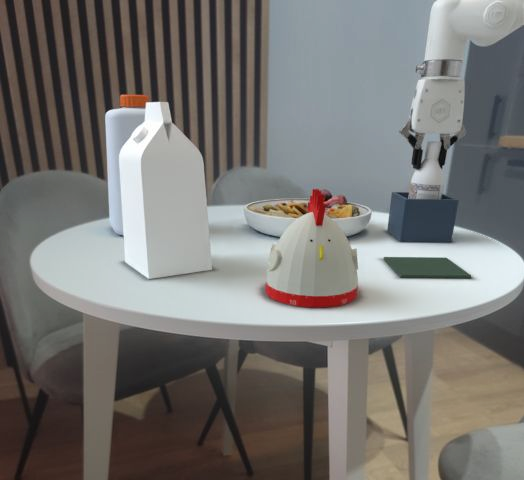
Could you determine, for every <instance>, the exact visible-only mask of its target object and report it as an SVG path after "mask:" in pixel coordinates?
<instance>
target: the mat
mask: <svg viewBox="0 0 524 480" xmlns="http://www.w3.org/2000/svg"><path fill="white" fill-rule="evenodd" d="M383 260H384V262H385V263H386V264H387V265H388V266H389V267H390V268H391V269H392V270H393V272H395V273H396V274H397V276H399V278H402V279H403V278H405V279H415V278H416V279H472V275H471V274H470V273H468V272H467V271H466V270H464V269H463V268H462V267H460V266H459V265H457V264H456V263H454V262H453V261H452V260H450V259H449V258H448V257H438V256H437V257H435V256H434V257H433V256H431V257H430V256H428V257H427V256H425V257H424V256H423V257H422V256H384V257H383Z"/></svg>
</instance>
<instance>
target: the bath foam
mask: <svg viewBox="0 0 524 480" xmlns="http://www.w3.org/2000/svg"><path fill="white" fill-rule="evenodd" d="M440 149H441V142H440V141H431V140H428V141H427V142H426V147H425V152H424V153H425V154H424V159H422V161H421V167H420V169H415V170H414V172H413V174H412V177H411V180H410V184H409V191H408V192H409V197H408V199H441V197H442V194H443V191H444V186H445V175H444V170H443V168H442V169H441V168H440V165H439V161H438V159H439V154H440Z"/></svg>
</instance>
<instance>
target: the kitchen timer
mask: <svg viewBox="0 0 524 480" xmlns="http://www.w3.org/2000/svg"><path fill="white" fill-rule="evenodd" d="M311 190H312V191H311V195H309V199H310V202H308V213H307V214H305V215H303V216H301V217H299V218H298V219H297V220H295V221H294V222H293V223H292V224H291V225H290V226H289V227H288V228H287V229H286V230H285V232H284V233H283V234H282V236H281V237H279V239H278V240H277V242H276V244H274V243H273V244H272V245H271V247H270V251H269V257H268V262H267V266H266V267H267V270H266V271H267V272H266V278H265V294H266V295H267V297H268V298H270V299H272V300H273V301H276V302H278V303H282V304H284V305H288V306H289V305H290V306H294V307H299V308H300V307H302V308H330V307H331V308H332V307H339V306H342V305H346V304H349V303H351V302H353V301H355V300H356V298H357V296H358V288H359V276H358V270H359V263H358V249H357V248H356V247H355V248H352V246H351V244H350V242H349V239H348V238H347V237H346V236H345V234H344V232H343V231H342V229H341V228H340V227H339V226H338V224H337V223H336V222H335V221H334V220H332V219H331V218H330V217H328V216H327V215H325V207H326V205H323V204H324V194H321V191H319V190H320V189H319V188H312V189H311Z"/></svg>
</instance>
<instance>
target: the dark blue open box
mask: <svg viewBox="0 0 524 480" xmlns="http://www.w3.org/2000/svg"><path fill="white" fill-rule="evenodd" d="M408 197H409V191H391V197H390V203H389V204H390V205H389V211H388V222H387V229H386V231H387V232H388V233H389V234H390V235H391V236H392V237H393V238H395V239H396V240H397V241H398V242H400V243H452V242H453V236H454V235H453V234H454V229H455V225H456V219H457V212H458V207H459V201H460V200H459V199H457V198H455V197H452V196H450V195H448V194H446V193H445V194H444V193H442V197H441V199H408Z"/></svg>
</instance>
